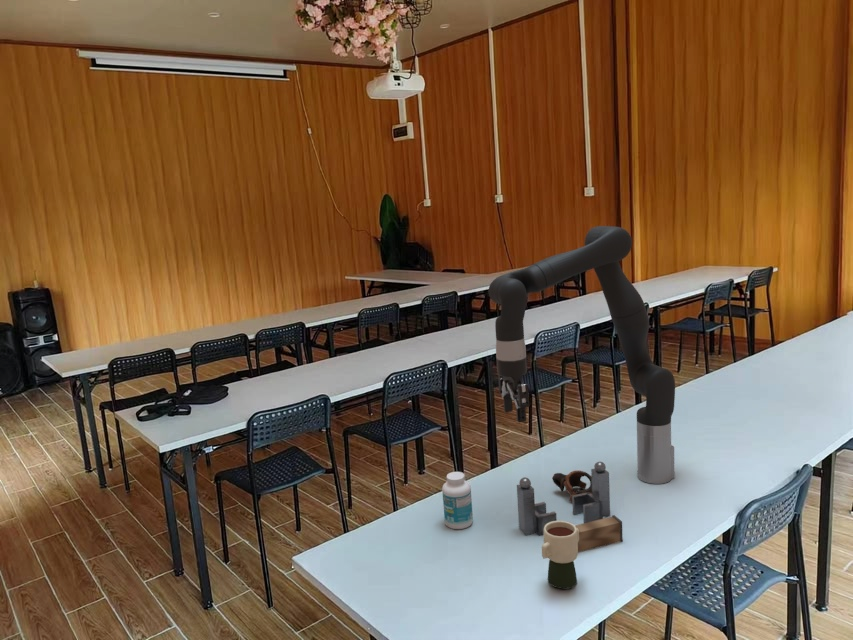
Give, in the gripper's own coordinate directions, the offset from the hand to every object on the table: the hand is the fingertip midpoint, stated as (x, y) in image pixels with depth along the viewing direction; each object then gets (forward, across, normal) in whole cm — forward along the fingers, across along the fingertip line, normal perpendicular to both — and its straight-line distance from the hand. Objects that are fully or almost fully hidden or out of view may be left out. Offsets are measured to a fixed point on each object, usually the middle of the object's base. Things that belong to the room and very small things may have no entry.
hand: (514, 416), depth 170 cm
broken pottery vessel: (+28, +3, -17) cm, 33 cm away
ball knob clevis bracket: (+27, -9, -8) cm, 30 cm away
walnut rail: (+27, -21, -10) cm, 36 cm away
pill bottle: (+27, +2, +17) cm, 32 cm away
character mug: (+27, -32, +4) cm, 42 cm away
